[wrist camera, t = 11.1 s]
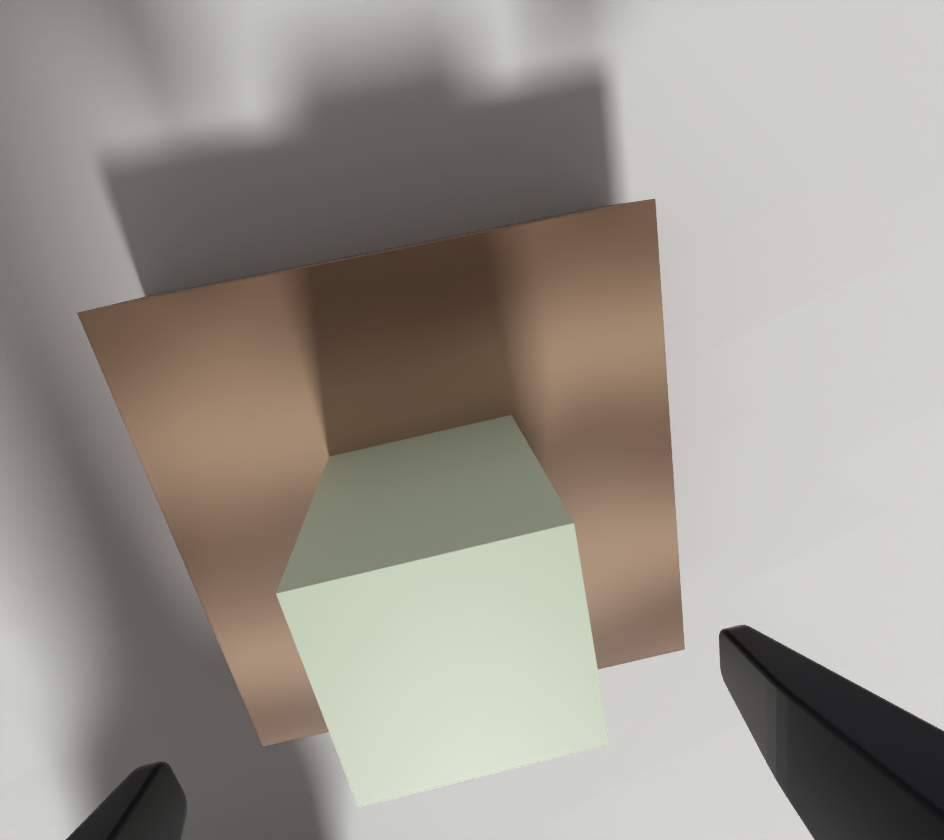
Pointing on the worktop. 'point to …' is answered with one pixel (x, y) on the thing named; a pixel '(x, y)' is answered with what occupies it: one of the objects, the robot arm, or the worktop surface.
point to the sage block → (443, 612)
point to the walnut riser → (406, 414)
